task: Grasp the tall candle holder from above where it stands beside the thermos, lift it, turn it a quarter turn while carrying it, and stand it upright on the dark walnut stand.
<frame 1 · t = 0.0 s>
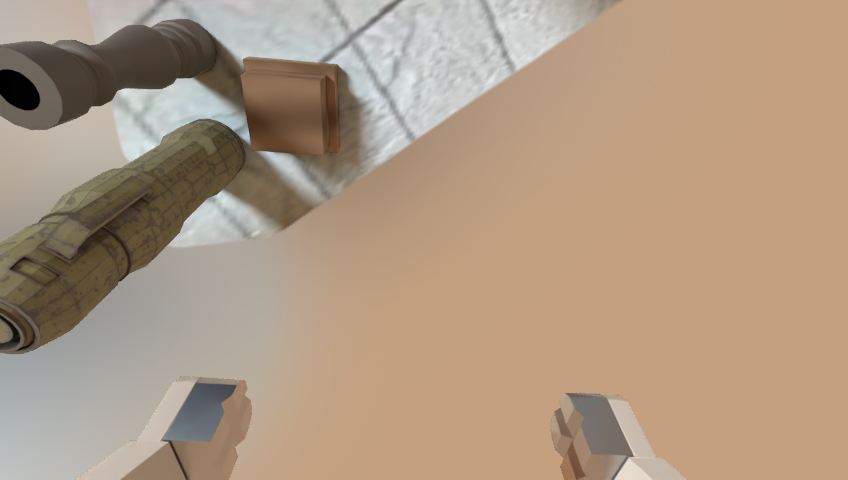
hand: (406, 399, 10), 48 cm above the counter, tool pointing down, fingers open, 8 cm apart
walnut stand: (297, 105, 53), on the counter
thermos: (214, 148, 56), on the counter
candle holder: (191, 47, 49), on the counter
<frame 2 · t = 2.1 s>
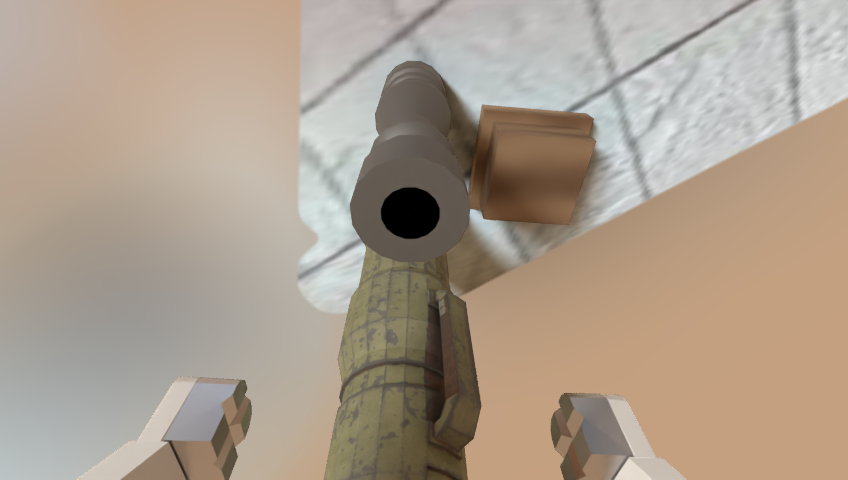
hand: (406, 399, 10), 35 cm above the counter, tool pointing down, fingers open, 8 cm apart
walnut stand: (522, 159, 43), on the counter
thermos: (408, 207, 47), on the counter
candle holder: (414, 93, 40), on the counter
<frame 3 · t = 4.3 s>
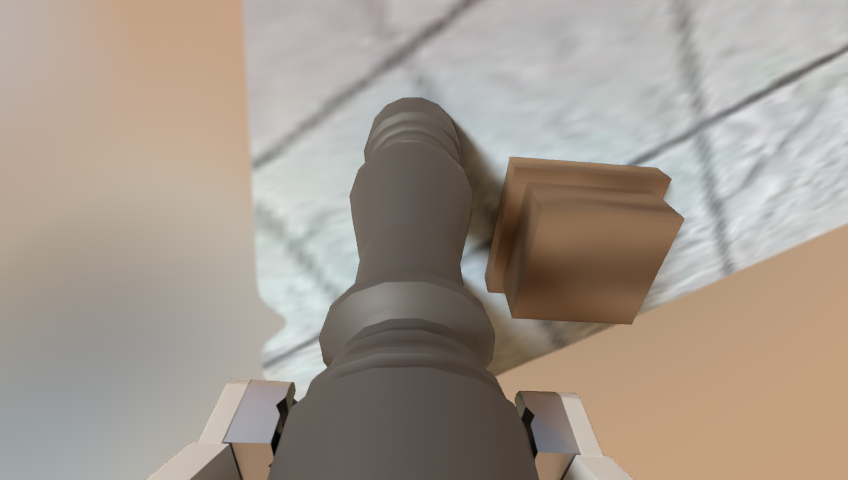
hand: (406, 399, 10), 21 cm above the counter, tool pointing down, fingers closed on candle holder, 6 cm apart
walnut stand: (563, 227, 32), on the counter
candle holder: (413, 141, 28), on the counter, touching gripper
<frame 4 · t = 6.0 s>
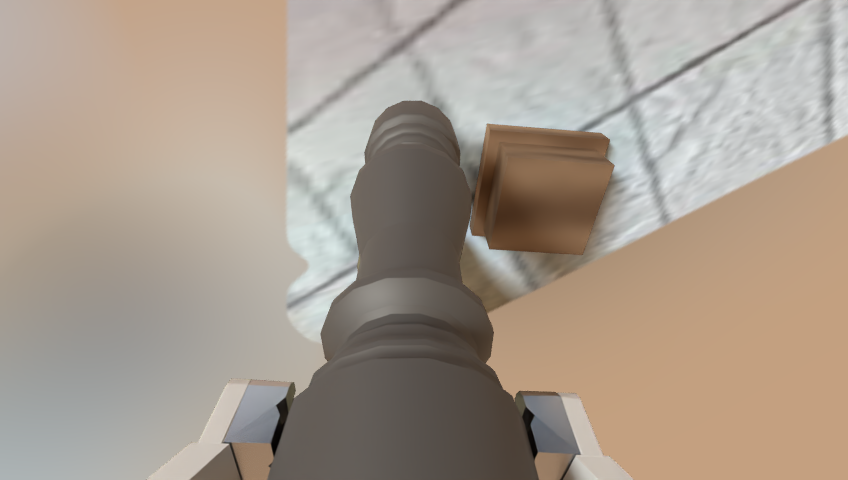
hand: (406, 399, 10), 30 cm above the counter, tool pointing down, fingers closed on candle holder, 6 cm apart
walnut stand: (531, 182, 40), on the counter
candle holder: (413, 144, 28), point 9 cm above the counter, touching gripper
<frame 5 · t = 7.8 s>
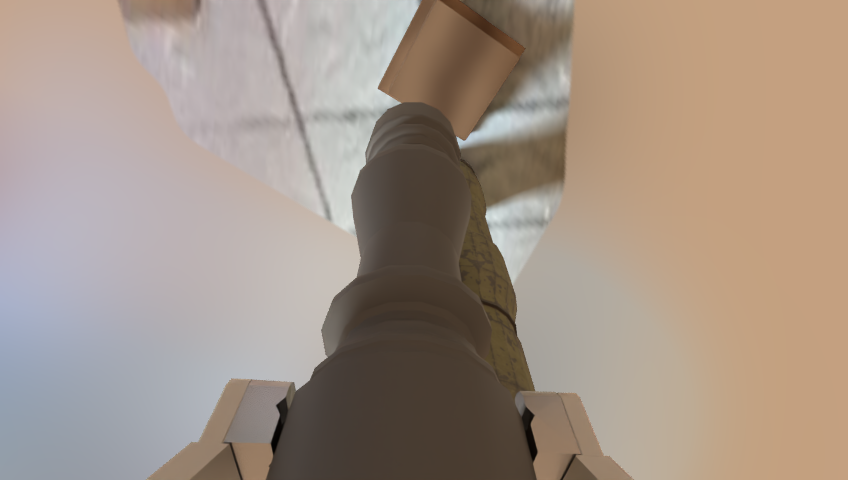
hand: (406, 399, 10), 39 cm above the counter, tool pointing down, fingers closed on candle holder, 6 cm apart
walnut stand: (448, 65, 42), on the counter
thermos: (442, 186, 50), on the counter
candle holder: (413, 145, 28), point 18 cm above the counter, touching gripper
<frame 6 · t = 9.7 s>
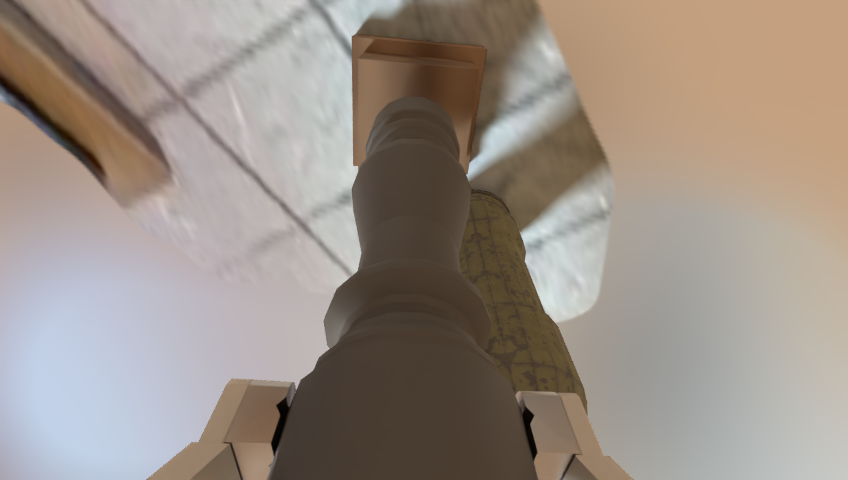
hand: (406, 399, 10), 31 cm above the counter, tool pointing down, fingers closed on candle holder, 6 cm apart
walnut stand: (415, 106, 37), on the counter
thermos: (470, 224, 44), on the counter
candle holder: (413, 139, 28), point 10 cm above the counter, touching gripper
when the fingers open (28 cm above the counter, at t = 11.3 s): candle holder stays where it is, resting on walnut stand.
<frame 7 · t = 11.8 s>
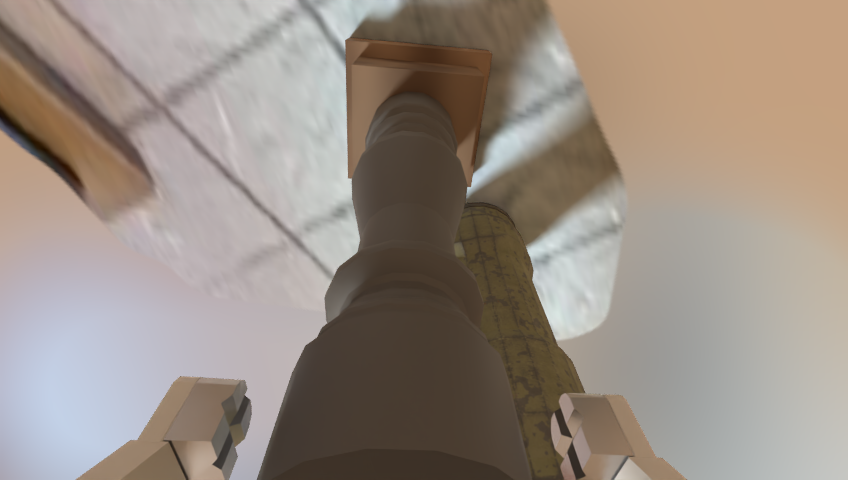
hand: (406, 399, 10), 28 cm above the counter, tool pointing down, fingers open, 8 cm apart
walnut stand: (414, 114, 34), on the counter
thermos: (473, 238, 41), on the counter
candle holder: (411, 134, 29), point 6 cm above the counter, touching walnut stand
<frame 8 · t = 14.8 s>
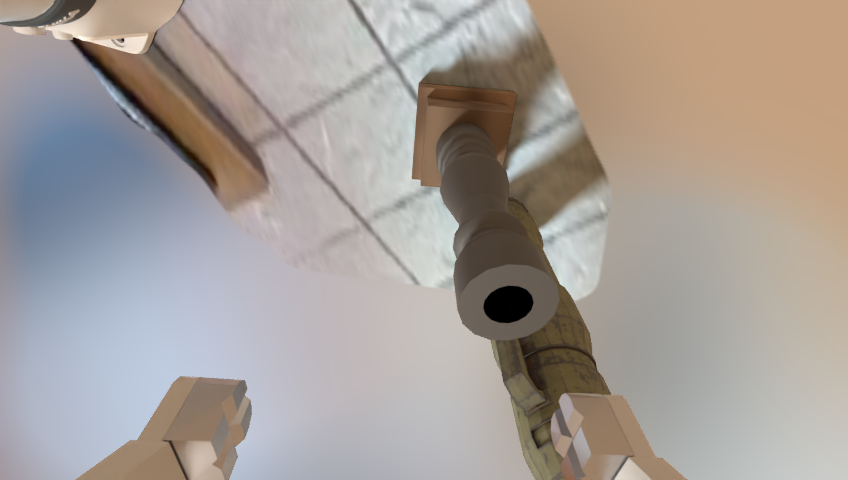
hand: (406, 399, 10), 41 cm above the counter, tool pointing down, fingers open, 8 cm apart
walnut stand: (460, 134, 48), on the counter
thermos: (497, 223, 55), on the counter
candle holder: (463, 149, 43), point 6 cm above the counter, touching walnut stand
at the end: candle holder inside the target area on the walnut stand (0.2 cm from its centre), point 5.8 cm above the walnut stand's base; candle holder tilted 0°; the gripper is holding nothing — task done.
